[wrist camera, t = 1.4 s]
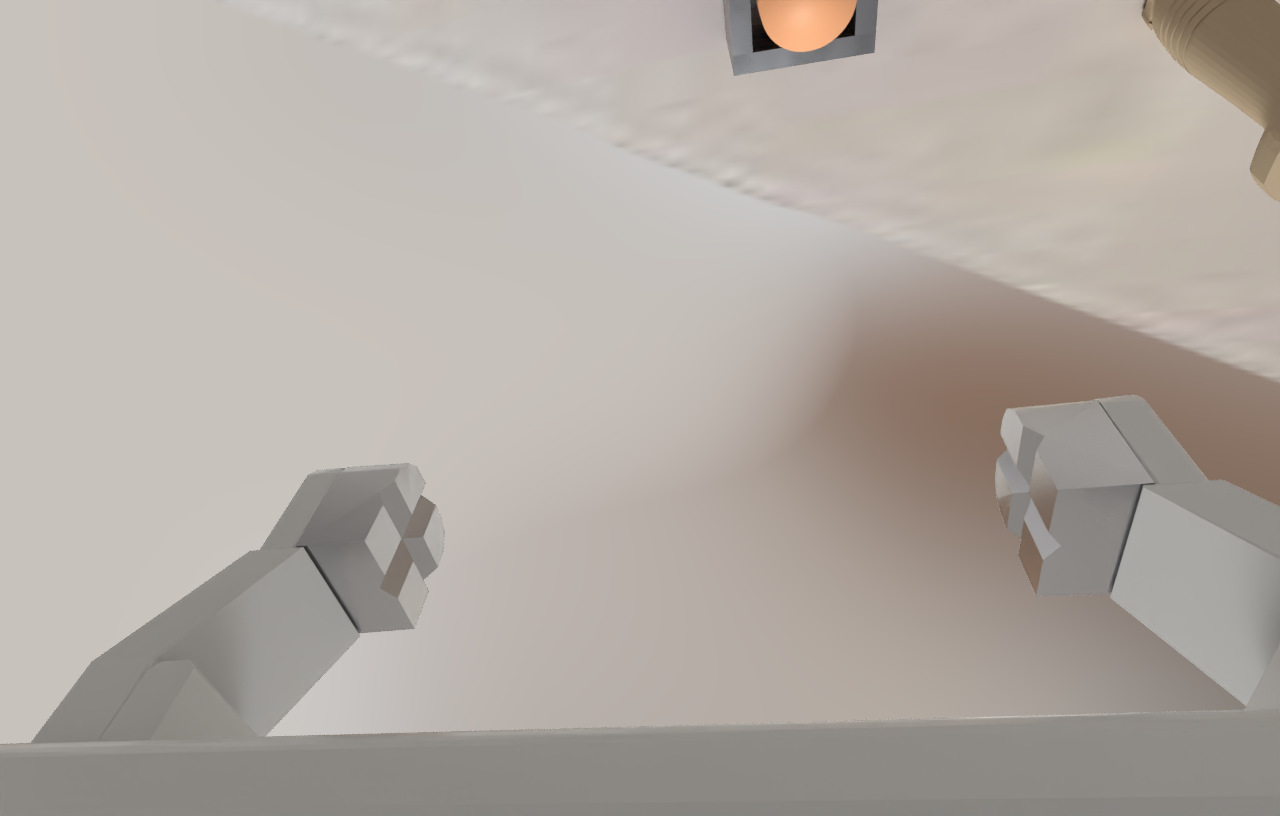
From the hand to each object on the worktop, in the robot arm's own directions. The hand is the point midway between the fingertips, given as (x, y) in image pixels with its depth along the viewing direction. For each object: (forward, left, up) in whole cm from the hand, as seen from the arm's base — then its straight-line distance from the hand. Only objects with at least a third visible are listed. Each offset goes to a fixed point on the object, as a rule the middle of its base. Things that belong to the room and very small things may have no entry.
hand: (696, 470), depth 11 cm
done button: (+6, +6, -33) cm, 34 cm away
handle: (+11, +26, -36) cm, 46 cm away
